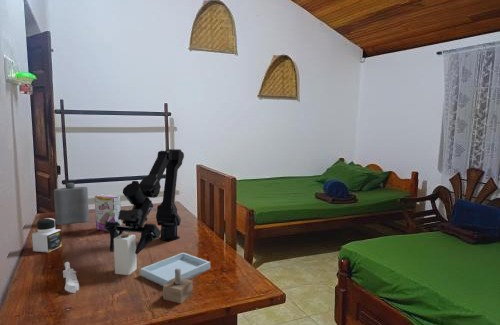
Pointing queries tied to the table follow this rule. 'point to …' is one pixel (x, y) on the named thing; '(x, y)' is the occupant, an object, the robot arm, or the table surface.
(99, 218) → the candy bar box
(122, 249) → the bored block
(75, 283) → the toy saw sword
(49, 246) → the medicine bottle
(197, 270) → the tray
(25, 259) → the table surface
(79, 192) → the flask
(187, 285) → the wood block with post
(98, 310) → the table surface
